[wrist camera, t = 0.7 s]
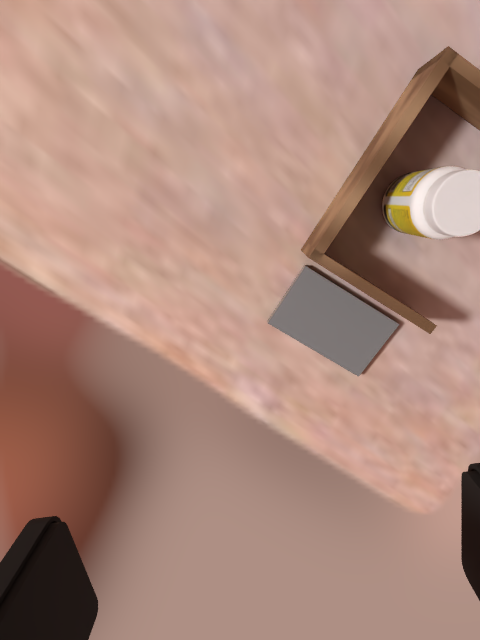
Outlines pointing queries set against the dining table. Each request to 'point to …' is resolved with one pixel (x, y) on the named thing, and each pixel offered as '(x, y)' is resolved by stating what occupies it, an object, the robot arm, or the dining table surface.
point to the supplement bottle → (434, 203)
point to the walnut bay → (431, 79)
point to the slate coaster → (332, 321)
